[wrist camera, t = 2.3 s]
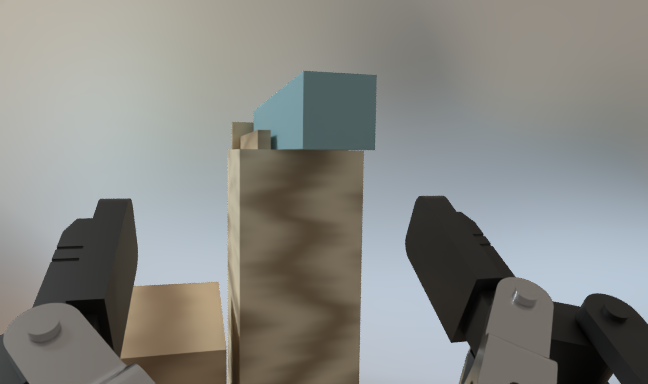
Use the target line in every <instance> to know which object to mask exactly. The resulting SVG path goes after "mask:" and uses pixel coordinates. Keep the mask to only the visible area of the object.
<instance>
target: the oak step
mask: <svg viewBox="0 0 648 384" xmlns="http://www.w3.org/2000/svg"><path fill="white" fill-rule="evenodd" d="M120 359H121V361H122V362H123V363H124V364H125V365H127V366H129V365H130V364H132V363H135V364H137V365H139V366H140V367H141V368H142V369H143V370H144V371H145V372H146V373H147V374H148V375H149V376H150V378H151V379H152V380H153V381H154V382H155V383H156V384H226V342H225V334H224V325H223V317H222V309H221V299H220V291H219V283H218V282H208V283H188V284H169V285H150V286H133V291H132V297H131V302H130V308H129V313H128V319H127V324H126V330H125V335H124V341H123V346H122V352H121V357H120Z"/></svg>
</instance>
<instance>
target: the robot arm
mask: <svg viewBox="0 0 648 384" xmlns="http://www.w3.org/2000/svg"><path fill="white" fill-rule="evenodd" d="M405 245H406V252H407V256H408V258H409V260H410V262H411V264H412V266H413V268H414V270H415V272H416V274H417V276H418V278H419V280H420V282H421V284H422V286H423V288H424V290H425V292H426V294H427V296H428V298H429V300H430V302H431V304H432V306H433V308H434V310H435V312H436V314H437V316H438V318H439V320H440V322H441V324H442V326H443V328H444V330H445V331H446V334H447V335H448V338H449V339H450V342H451V343H453V342H464V341H467V342H468V344H469V345H470V349H469V351H468V353H467V356H466V360H465V364H464V367H463V370H462V374H461V378H460V382H459V384H609V383H608V380H609V379H610V377H611V376H612V374H613V373H614V375H615V376H616V377H617V379H618V380H619V382H620V383H621V384H648V324H647V323H646V322H645V320H644V319H643V318H642V317H641V316H640V315H639V314H638V313H637V312H636V311H635V310H634V309H633V308H632V307H631V306H629V305H628V304H627V303H625V302H623V301H622V300H620V299H617V298H615V297H613V296H609V295H606V294H598V293H597V294H591V295H589V296H587V297H586V299H585V300H584V302H583V304H582V305H581V307H579V306H574V305H569V304H564V303H559V302H553V301H552V299H551V297H550V296H549V295H548V293H547V292H546V291H545V290H543V289H542V288H541V287H540V286H538V285H537V284H535V283H533V282H531V281H528V280H526V279H522V278H516V277H515V276H514V274H513V273H512V272H511V270H510V269H509V268H508V266H507V265H506V264H505V262H504V261H503V260H502V258H501V257H500V256H499V254H498V253H497V251H496V250H495V249H494V247H493V246H491V245H490V242H489V241H488V239H487V238H486V237H485V236H483V233H482V231H481V230H480V229H479V227H478V226H477V225H476V223H475V222H474V221H473V220H471V219H470V218H468V217H467V216H466V215H464V214H463V213H462V212H456V210H455V209H454V208H453V206H452V205H451V203H450V202H449V201H448V199H447V198H446V197H445V196H419V197H418V198H417V200H416V202H415V205H414V209H413V213H412V217H411V220H410V224H409V227H408V231H407V235H406V240H405ZM137 261H138V246H137V237H136V229H135V221H134V213H133V205H132V200H131V199H100V200H99V201H98V204H97V207H96V210H95V213H94V216H93V218H87V219H76V220H75V221H74V222H73V223H72V224H71V225H70V226H69V227H68V228H66V230H64V231H63V233H62V235H61V238H60V240H59V243H58V245H57V250H55V253H54V255H53V258H52V262H51V263H50V265H49V268H48V270H47V273H46V275H45V277H44V280H43V283H42V285H41V287H40V290H39V292H38V295H37V297H36V300H35V302H34V305H33V307H32V308H31V309H29V310H27V311H25V312H23V313H22V314H21V315H19V316H17V317H16V318H15V319H14V320H13V321H12V322H11V323H10V324H9V326H8V327H7V329H6V331H5V333H4V334H2V335H0V384H156V383H155V382H154V381H153V380H152V379H151V378H150V376H149V375H148V374H147V373H146V372H145V371H144V370H143V369H142V368H141V367H140V366H139V365H137V364H135V363H132V364H130V365H129V366H127V365H125V364H124V363H123V362H122V361H121V359H120V357H121V352H122V346H123V341H124V335H125V330H126V324H127V319H128V313H129V308H130V302H131V297H132V291H133V285H134V280H135V275H136V270H137Z"/></svg>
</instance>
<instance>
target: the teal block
mask: <svg viewBox="0 0 648 384" xmlns="http://www.w3.org/2000/svg"><path fill="white" fill-rule="evenodd" d="M376 77H377V76H376V75H364V74H348V73H347V74H346V73H330V72H313V71H312V72H311V71H303V72H302V73H300V74H299V75H298V76H297V77H295V78H294V79H293V80H292V81H290V82H289V83H288V84H287V85H286V86H284V87H283V88H282V89H281V90H279V91H278V92H277V93H276V94H274V95H273V96H272V97H271V98H269V99H268V100H267V101H266V102H264V103H263V104H262V105H261V106H260V107H258V108H257V109H256V110H255V111H254V131H256V130H271V150H375V123H376V122H375V121H376Z"/></svg>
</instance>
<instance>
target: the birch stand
mask: <svg viewBox="0 0 648 384" xmlns="http://www.w3.org/2000/svg"><path fill="white" fill-rule="evenodd" d="M363 159H364V151H348V150H271V130H256V131H254V123H246V122H232V150H228V384H359V352H360V304H361V257H362V255H361V254H362V208H363V207H362V205H363V161H364V160H363Z"/></svg>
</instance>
